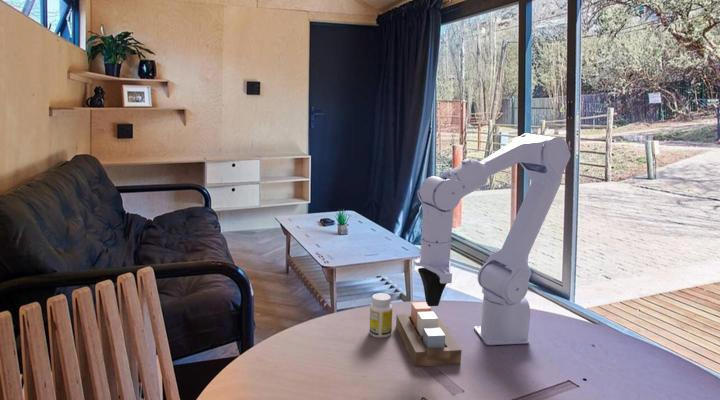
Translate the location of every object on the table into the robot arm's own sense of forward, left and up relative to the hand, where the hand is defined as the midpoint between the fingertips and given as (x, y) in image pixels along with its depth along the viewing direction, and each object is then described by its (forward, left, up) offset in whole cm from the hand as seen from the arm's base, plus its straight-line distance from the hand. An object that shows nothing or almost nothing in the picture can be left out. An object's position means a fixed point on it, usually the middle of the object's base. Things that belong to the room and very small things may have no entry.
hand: (432, 304), depth 103 cm
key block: (0, -2, -10) cm, 10 cm away
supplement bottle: (+9, -8, -10) cm, 16 cm away
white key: (0, -2, -7) cm, 8 cm away
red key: (0, -7, -7) cm, 10 cm away
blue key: (0, +3, -8) cm, 9 cm away
